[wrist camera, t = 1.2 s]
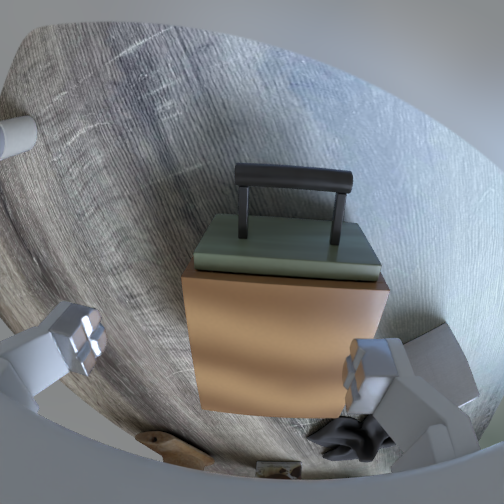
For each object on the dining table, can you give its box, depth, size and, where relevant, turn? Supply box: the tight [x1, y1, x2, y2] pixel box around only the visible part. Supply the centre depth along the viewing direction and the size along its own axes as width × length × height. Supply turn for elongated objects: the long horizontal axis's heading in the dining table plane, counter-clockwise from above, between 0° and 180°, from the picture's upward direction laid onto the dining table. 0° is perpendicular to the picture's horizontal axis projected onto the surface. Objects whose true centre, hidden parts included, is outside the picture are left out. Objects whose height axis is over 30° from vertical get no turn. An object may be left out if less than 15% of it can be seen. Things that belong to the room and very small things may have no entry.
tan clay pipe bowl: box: [135, 431, 215, 471], centre depth 40 cm, size 15×12×15 cm
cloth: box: [307, 414, 396, 462], centre depth 36 cm, size 22×19×6 cm
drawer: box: [193, 163, 382, 282], centre depth 22 cm, size 18×11×7 cm, turn 178°
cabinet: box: [181, 256, 390, 418], centre depth 24 cm, size 15×13×9 cm
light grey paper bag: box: [403, 322, 480, 408], centre depth 25 cm, size 4×7×10 cm, turn 123°
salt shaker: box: [0, 115, 37, 161], centre depth 19 cm, size 4×4×6 cm
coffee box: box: [255, 461, 302, 480], centre depth 41 cm, size 9×6×16 cm
